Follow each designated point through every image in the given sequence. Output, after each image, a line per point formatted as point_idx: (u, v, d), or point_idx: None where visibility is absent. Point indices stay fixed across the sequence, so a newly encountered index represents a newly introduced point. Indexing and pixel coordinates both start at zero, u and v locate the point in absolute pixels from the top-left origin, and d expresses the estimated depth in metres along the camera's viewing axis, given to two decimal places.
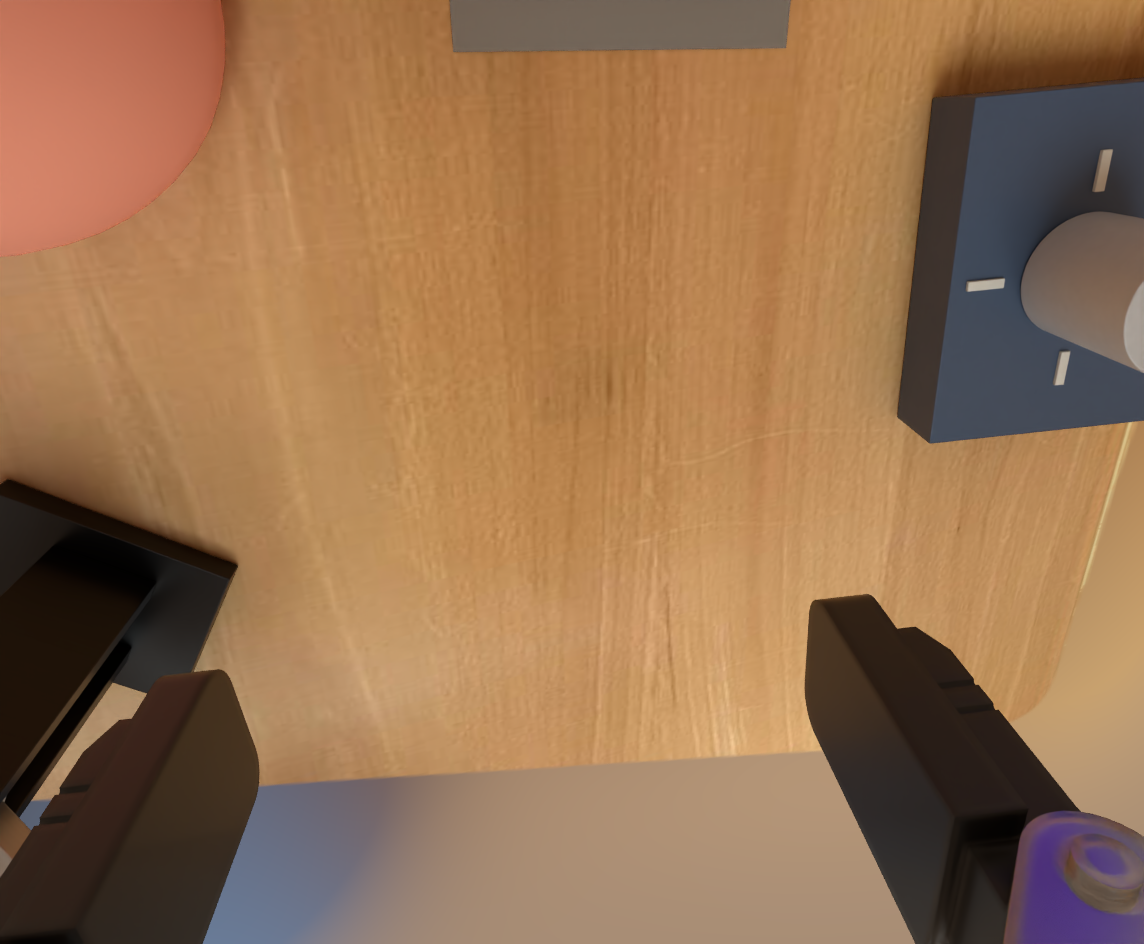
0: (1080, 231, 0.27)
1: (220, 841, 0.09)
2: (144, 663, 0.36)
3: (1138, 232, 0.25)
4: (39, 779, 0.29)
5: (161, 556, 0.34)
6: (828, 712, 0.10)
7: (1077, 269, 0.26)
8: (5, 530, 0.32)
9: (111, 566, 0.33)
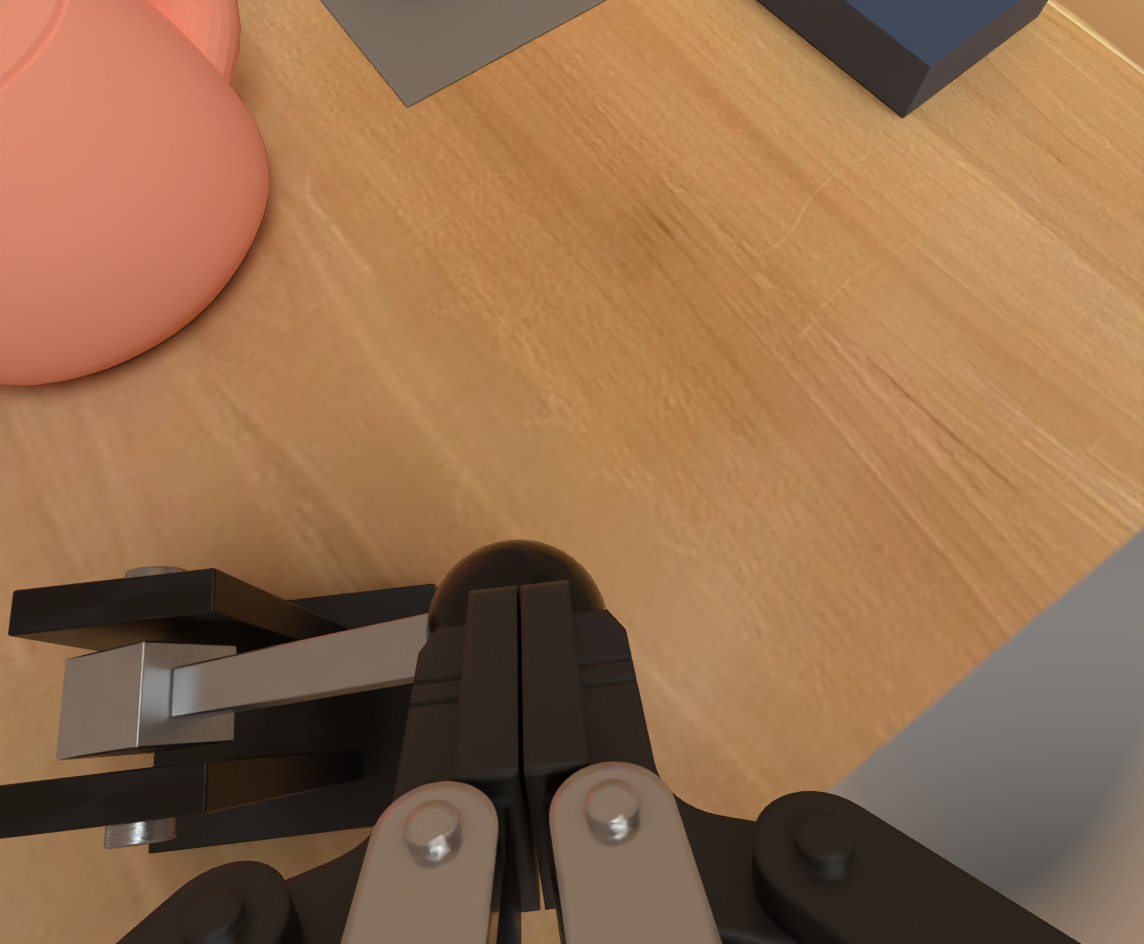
0: None
1: None
2: (384, 769, 0.26)
3: None
4: (278, 757, 0.19)
5: (353, 596, 0.28)
6: None
7: None
8: None
9: None
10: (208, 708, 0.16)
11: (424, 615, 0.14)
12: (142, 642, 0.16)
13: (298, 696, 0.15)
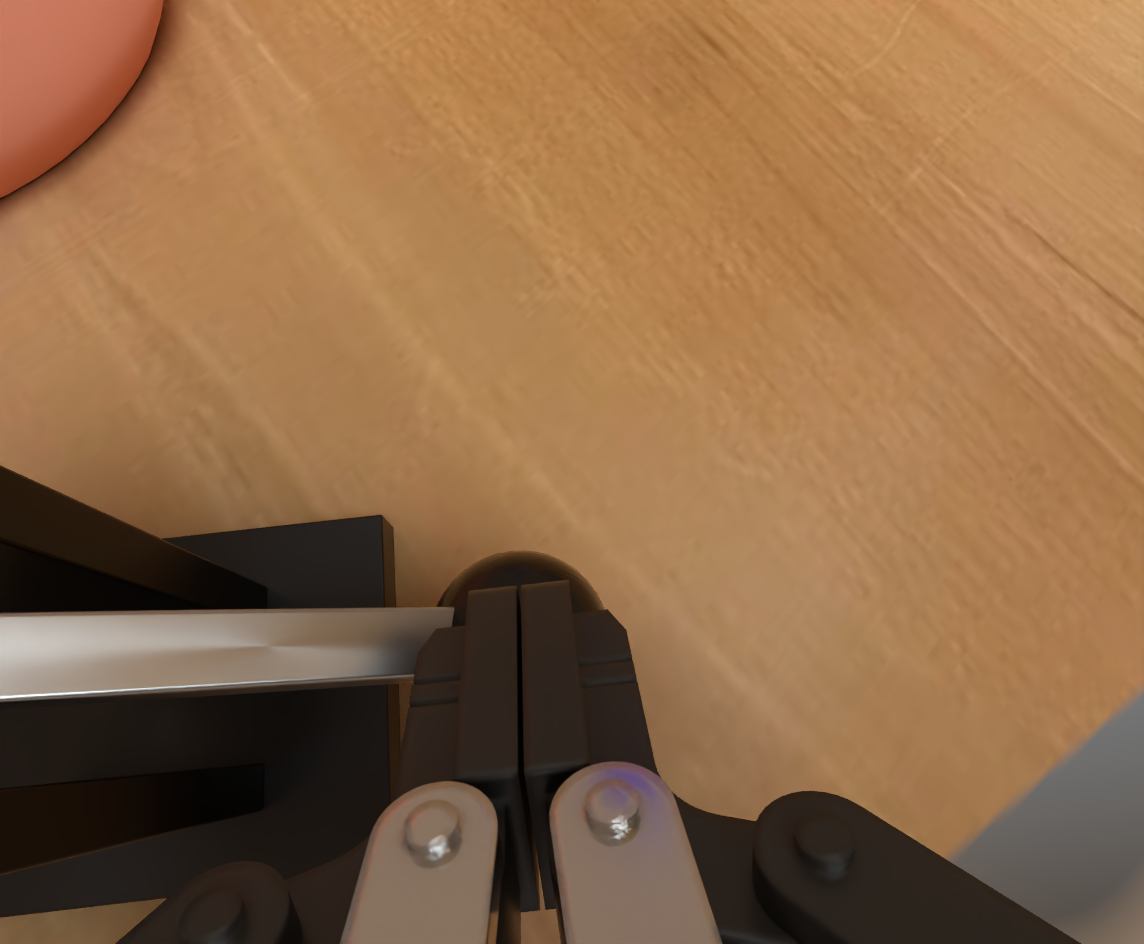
0: None
1: None
2: (297, 794, 0.17)
3: None
4: (23, 791, 0.10)
5: (261, 533, 0.19)
6: None
7: None
8: None
9: None
10: None
11: (440, 608, 0.12)
12: None
13: (226, 688, 0.10)
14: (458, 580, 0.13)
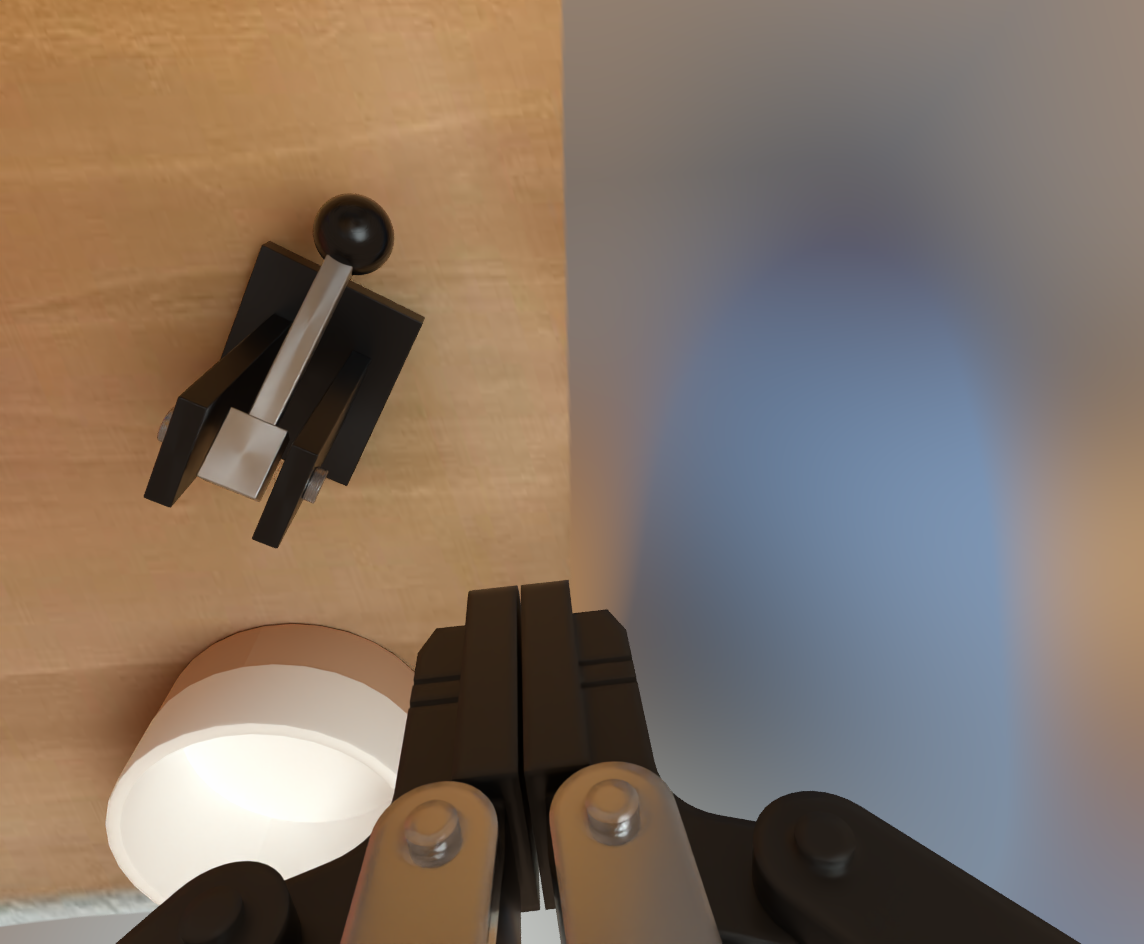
0: None
1: None
2: (372, 343, 0.38)
3: None
4: (317, 406, 0.31)
5: (244, 303, 0.36)
6: None
7: None
8: None
9: None
10: (287, 397, 0.29)
11: (325, 259, 0.30)
12: (231, 407, 0.28)
13: (316, 341, 0.30)
14: (317, 245, 0.31)
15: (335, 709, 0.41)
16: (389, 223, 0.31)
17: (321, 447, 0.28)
